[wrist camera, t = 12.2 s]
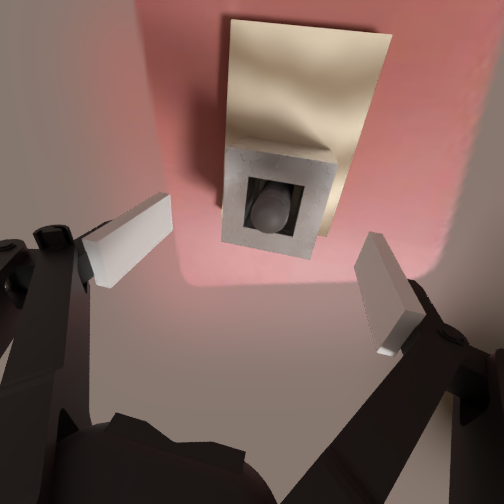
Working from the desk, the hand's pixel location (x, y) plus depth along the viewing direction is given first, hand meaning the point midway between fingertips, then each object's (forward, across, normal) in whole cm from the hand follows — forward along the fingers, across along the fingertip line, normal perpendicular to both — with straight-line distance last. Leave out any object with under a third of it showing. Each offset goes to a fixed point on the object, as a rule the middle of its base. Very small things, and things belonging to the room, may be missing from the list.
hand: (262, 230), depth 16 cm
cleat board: (+14, 0, +3) cm, 14 cm away
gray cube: (+12, 0, -1) cm, 12 cm away
